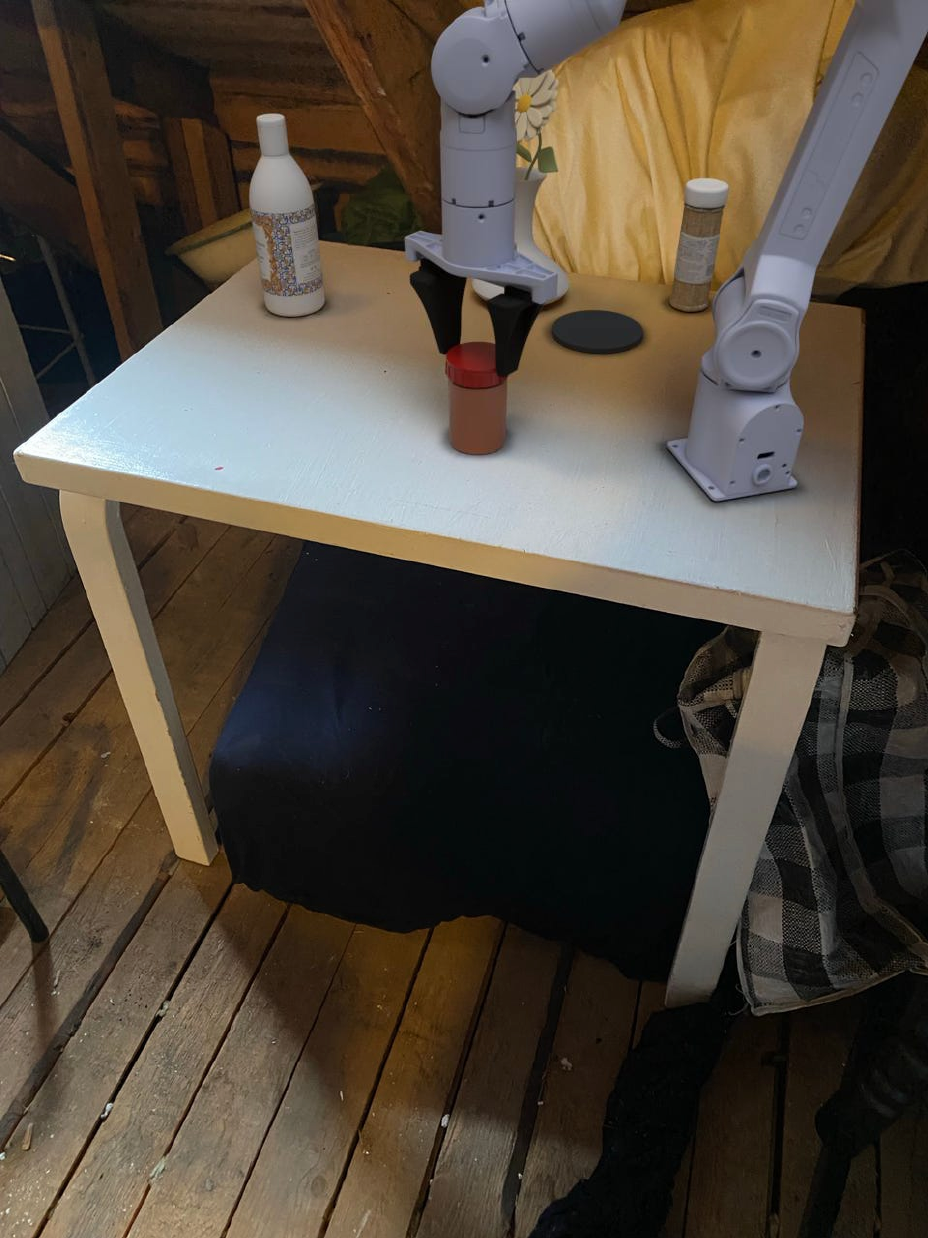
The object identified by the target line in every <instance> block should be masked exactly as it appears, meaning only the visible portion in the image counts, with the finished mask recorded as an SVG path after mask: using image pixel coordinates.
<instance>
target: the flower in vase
mask: <svg viewBox="0 0 928 1238" xmlns="http://www.w3.org/2000/svg"><path fill="white" fill-rule="evenodd" d="M559 82H560V81H559V80H558V79H556V75H555V74H554V72H553V70H552V69H549V70H548V71H546V72H544V73H543V74H541V75H540V76H538V77H536V78H519V80H518V81H517V83H516V84H515V85H514V87H513V89H512V90H515V91H516V105H515V127H516V130H517V154H516V155H518V156H519V157H521V158H522V159H523V160H525V161H526V162H527V163H530V164H529V166H516V189H515V231H514V242H515V243H517V252H519V253H521V254H522V255H524V256H526V257H527V258H529V259H531V260H532V261H534V262H536V263H537V264H539V265H541V266H542V267H544V268H546V269H549V270H551V271H554V272H557V273H558V283H557V297H555V298H553V299H551V300H550V301H548V302H546V303H545V305H550V304H552V303H555V302H557V301H558V300H560V299H562V297H564V296H565V294H566V292H567V291H568V290H569V287H570V282H569V278H568V276H567V273H566V272H565V271H564V270H563V268H562V267H561V266H560V265H559V264H558V263H557V262H555V261H554V260H553V258H551V257H550V256H549V255H547V254H546V253H545V252H544V251H543V250H542V249H541V248H540V247H538V245H537V244H536V242H535V238H534V233H533V221H534V210H535V204H536V200H537V195H538V193H539V189H540V188H541V186H542V184H543V183H544V181H545V180H546V179H547V177H548V174H552V173H558V172H559V168H558V164H557V161H556V156H555V151H554V148H553V146H546V147H543V148H542V146H543V138H542V137H543V136H542V127H545V126H547V124H548V123H549V120H550V117H551V115H552V114H553V113H554V112H555V111H556V110H557V106H558V105H557V102H556V100H557V98H558V95H559V91H558V88H559V85H560V83H559ZM536 136H537V138H538V139H537V140H538V144H537V145H538V146H537V150H536V152H535V154H534V157H533V158H532V153H531V152H530V151H529V150H528V149H527V148H526V147H525V146H523V145H522V144H521V142H522V141H523V140H524V141H525V142H526V143H528V142H530V141H531V140H533V139H534V138H535V137H536ZM536 161H537V167H534V165H535V164H536ZM471 286H472V289H473V290H474V292H475V293H476V294H477V295H478V297H480V298H481V299H482V300H484V301H485V302H486V301H487V300H489V299H491V298H493V297H495V296H497V295H499V294H501V293H502V294H504V288H503V287H500V286H497V285H494V284H491V283H488V282H485V281H482V280H478V279H474V278H472V282H471Z"/></svg>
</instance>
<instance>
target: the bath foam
mask: <svg viewBox="0 0 928 1238" xmlns="http://www.w3.org/2000/svg"><path fill="white" fill-rule="evenodd" d="M255 121H256V127H257V134H258V141H259V147H260V148H259V149H260V153H261V154H260V155H261V156H260V158H259V160H258V162H257V165H256V167H255V169H254V171H253V174H252V177H251V179H250V180H251V181H250V184H249V192H248V193H249V194H248V198H249V199H248V201H249V211H250V216H251V223H252V230H253V236H254V243H255V249H256V255H257V262H258V268H259V274H260V282H261V288H262V293H263V300H264V304H265V307H266V310H268V311H269V312H270V313H271V314H274V315H276V316H281V317H289V318H290V317H292V318H294V317H295V318H296V317H302V316H307V315H311V314H313V313H316V312H318V311H320V309H322V307H323V306H324V305H325V301H326V299H325V289H324V277H323V269H322V267H323V266H322V260H321V250H320V240H319V233H318V232H319V231H318V224H317V216H316V215H317V213H316V206H315V199H314V194H313V191H312V188H311V185H310V182H309V180H308V177H306V175H305V173H304V171H303V170H302V169H301V167H300V166H299V165H298V163H297V162H296V160H295V159H294V158H293V156H292V155H291V154H290V150H289V140H288V131H287V124H286V123H287V122H286V117H285V115H283V114H280V113H264V114H261V115H258V116H257V117H256V120H255Z"/></svg>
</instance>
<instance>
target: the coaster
mask: <svg viewBox="0 0 928 1238" xmlns="http://www.w3.org/2000/svg"><path fill="white" fill-rule="evenodd" d="M551 335H552V338H553V339H554V340H555V342H556V343H558V344H559V345H560V346H563V347H565V348H567V349H570V350H572V351H576V352H581V353H586V354H595V355H597V354H598V355H607V354H617V353H621V352H625V351H628V350H631V349H633V348H635V347H636V346H638V345H639V344H640V343H641V341H642V339H643V337H644V328H643V327H642V325H641V324H640V322H639V321H638V320H636V319H635V318H633V317H631V316H629V315H625V314H623V313H620V312H617V311H616V312H615V311H611V310H603V309H585V310H577V311H572V312H569V313H566V314H563V315H561V316H559V317H558V318H556V319H555V320H554V321H553V323H552V324H551Z"/></svg>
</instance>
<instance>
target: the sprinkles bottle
mask: <svg viewBox="0 0 928 1238" xmlns="http://www.w3.org/2000/svg"><path fill="white" fill-rule="evenodd" d="M729 187H730V186H729V184H728V183H727V182H726V181H723V180H721V179H717V178H713V177H700V178H699V177H697V178H693V179H690V180H689V181H687V182H686V183H685V186H684V193H683V205H684V206H683V211H682V219H681V225H680V230H679V238H678V244H677V249H676V255H675V262H674V268H673V281H672V286H671V294H670V297H669V301H668V302H669V305H670V306H671V307H672V308H674V309H676V310H679V311H682V312H687V313H689V312H690V313H691V312H694V313H696V312H701V311H703V310H705V309H706V308H707V307H708V306H709V296H710V292H711V291H710V290H711V285H712V280H713V277H714V272H715V266H716V260H717V255H718V249H719V243H720V237H721V229H722V228H721V227H722V223H723V222H722V220H723V215H724V209H725V208H726V204H727V202H728V196H729V189H730V188H729Z"/></svg>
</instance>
